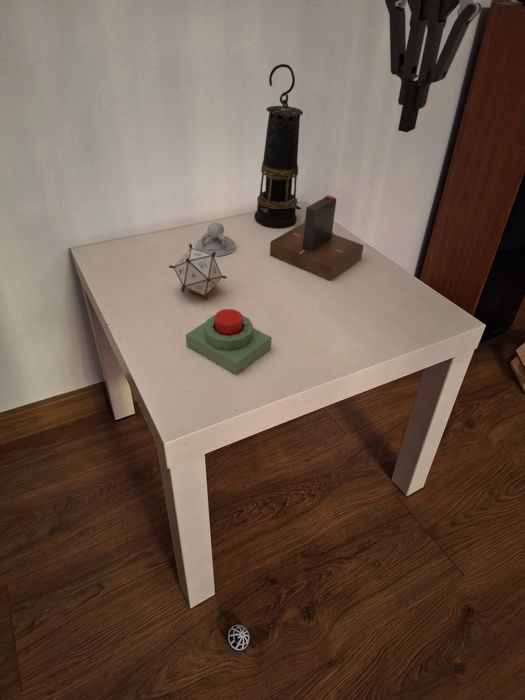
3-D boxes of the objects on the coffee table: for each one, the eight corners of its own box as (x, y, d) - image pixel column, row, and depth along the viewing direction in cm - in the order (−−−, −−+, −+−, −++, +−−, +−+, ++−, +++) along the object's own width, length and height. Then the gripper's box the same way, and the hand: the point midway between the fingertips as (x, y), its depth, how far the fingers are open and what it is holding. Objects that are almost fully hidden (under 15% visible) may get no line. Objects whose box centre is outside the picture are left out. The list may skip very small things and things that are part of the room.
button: (247, 327, 78) (248, 316, 77) (229, 340, 76) (229, 328, 74) (227, 316, 80) (227, 305, 79) (209, 328, 77) (209, 317, 76)
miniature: (239, 239, 107) (239, 217, 104) (232, 258, 101) (232, 235, 98) (200, 235, 108) (199, 213, 105) (191, 254, 102) (189, 230, 99)
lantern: (301, 226, 113) (316, 70, 94) (259, 229, 111) (266, 71, 92) (290, 209, 119) (301, 59, 101) (250, 211, 118) (254, 60, 99)
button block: (271, 348, 80) (272, 327, 78) (236, 375, 75) (236, 353, 73) (222, 322, 85) (221, 301, 82) (186, 346, 80) (184, 324, 77)
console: (361, 258, 103) (364, 244, 101) (330, 281, 96) (332, 266, 94) (302, 235, 109) (304, 221, 107) (269, 255, 102) (270, 240, 100)
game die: (197, 316, 92) (172, 293, 83) (178, 279, 96) (152, 254, 86) (240, 288, 92) (221, 263, 82) (220, 253, 95) (198, 224, 86)
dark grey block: (311, 251, 98) (315, 209, 93) (302, 247, 99) (306, 206, 94) (331, 238, 102) (336, 197, 97) (322, 235, 103) (327, 194, 98)
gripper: (508, -66, 65) (457, 133, 80) (411, -70, 71) (380, 115, 86) (486, -67, 60) (436, 145, 75) (384, -72, 66) (356, 125, 81)
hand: (406, 129), depth 80 cm, fingers closed
